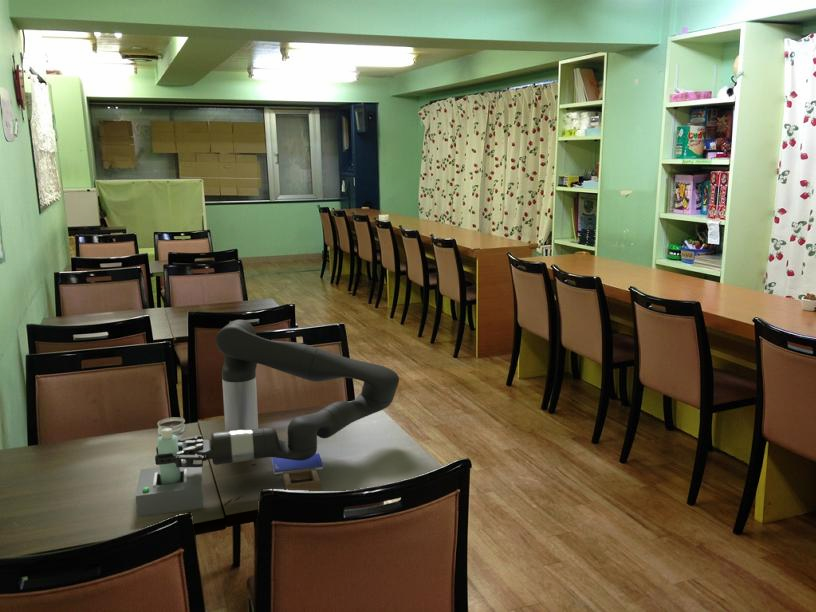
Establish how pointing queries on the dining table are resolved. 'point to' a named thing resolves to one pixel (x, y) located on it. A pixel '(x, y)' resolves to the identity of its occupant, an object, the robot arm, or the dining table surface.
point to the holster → (300, 475)
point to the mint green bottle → (165, 446)
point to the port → (169, 492)
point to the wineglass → (172, 426)
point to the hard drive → (296, 464)
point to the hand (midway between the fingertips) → (156, 455)
